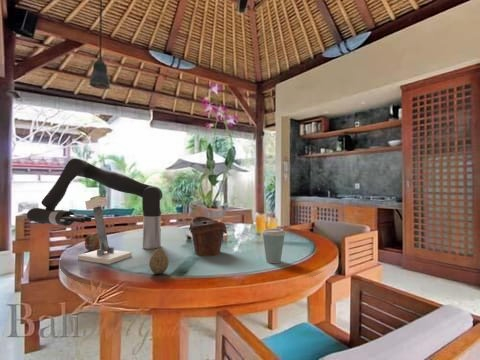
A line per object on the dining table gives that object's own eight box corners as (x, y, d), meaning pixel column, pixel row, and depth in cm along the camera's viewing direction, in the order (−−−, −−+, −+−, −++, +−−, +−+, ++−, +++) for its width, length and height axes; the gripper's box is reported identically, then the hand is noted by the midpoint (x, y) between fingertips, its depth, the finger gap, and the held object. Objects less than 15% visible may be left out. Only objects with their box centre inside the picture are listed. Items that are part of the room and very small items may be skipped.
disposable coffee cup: (266, 265, 123) (266, 231, 124) (258, 258, 134) (258, 227, 134) (288, 264, 126) (289, 230, 126) (278, 257, 137) (279, 227, 137)
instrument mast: (94, 254, 130) (84, 198, 132) (103, 251, 134) (93, 198, 137) (107, 251, 127) (97, 194, 130) (115, 248, 132) (105, 194, 134)
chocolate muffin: (222, 258, 133) (222, 220, 133) (182, 255, 137) (183, 219, 137) (230, 250, 150) (231, 217, 151) (195, 248, 154) (196, 215, 155)
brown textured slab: (89, 252, 141) (89, 235, 141) (83, 252, 141) (83, 235, 141) (104, 245, 156) (104, 230, 156) (98, 245, 156) (99, 230, 156)
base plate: (77, 259, 127) (78, 249, 127) (102, 252, 140) (102, 243, 140) (108, 264, 121) (108, 254, 121) (131, 256, 134) (131, 247, 134)
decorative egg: (169, 271, 113) (170, 246, 113) (165, 277, 106) (166, 250, 106) (152, 270, 113) (152, 246, 113) (146, 276, 106) (147, 250, 106)
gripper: (48, 211, 134) (74, 213, 128) (74, 209, 147) (99, 210, 141) (47, 227, 134) (74, 230, 128) (74, 223, 147) (99, 225, 141)
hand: (87, 219), depth 135 cm, fingers open, 3 cm apart
